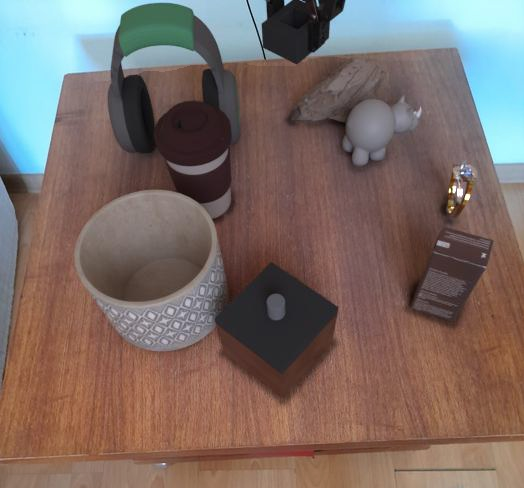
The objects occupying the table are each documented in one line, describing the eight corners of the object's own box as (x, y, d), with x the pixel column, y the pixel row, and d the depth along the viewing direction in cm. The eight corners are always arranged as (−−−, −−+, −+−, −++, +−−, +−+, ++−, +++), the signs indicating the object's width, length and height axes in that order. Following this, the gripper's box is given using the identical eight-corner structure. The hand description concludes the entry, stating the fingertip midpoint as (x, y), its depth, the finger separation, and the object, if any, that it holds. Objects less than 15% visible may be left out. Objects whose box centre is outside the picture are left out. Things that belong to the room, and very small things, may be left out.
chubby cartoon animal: (424, 154, 76) (439, 106, 68) (352, 174, 75) (359, 128, 67) (404, 124, 79) (417, 74, 71) (335, 142, 78) (340, 95, 70)
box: (461, 296, 65) (496, 239, 54) (452, 323, 63) (487, 270, 52) (417, 281, 66) (442, 223, 55) (407, 308, 65) (431, 253, 54)
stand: (273, 301, 66) (271, 266, 59) (332, 342, 63) (338, 312, 56) (223, 352, 63) (215, 323, 56) (283, 399, 60) (282, 374, 53)
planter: (244, 266, 69) (236, 203, 57) (206, 369, 62) (187, 321, 51) (138, 242, 71) (109, 178, 60) (91, 339, 65) (48, 287, 53)
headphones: (240, 113, 82) (226, -18, 64) (242, 161, 77) (228, 34, 59) (129, 122, 82) (84, -6, 64) (124, 170, 78) (74, 47, 60)
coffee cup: (251, 188, 75) (242, 102, 61) (222, 236, 71) (206, 156, 58) (194, 170, 77) (174, 83, 63) (163, 216, 73) (135, 134, 60)
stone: (386, 95, 82) (351, 43, 78) (409, 91, 75) (372, 33, 70) (320, 159, 85) (283, 112, 81) (336, 162, 77) (296, 110, 73)
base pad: (271, 266, 59) (270, 248, 55) (338, 312, 56) (341, 295, 52) (215, 323, 56) (210, 307, 53) (282, 374, 53) (281, 360, 49)
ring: (438, 190, 73) (455, 147, 66) (460, 193, 72) (479, 150, 65) (436, 227, 70) (453, 186, 63) (459, 230, 70) (478, 189, 62)
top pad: (294, 22, 63) (294, -3, 60) (329, 38, 61) (330, 13, 59) (262, 47, 61) (261, 23, 59) (297, 65, 59) (297, 40, 57)
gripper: (383, -138, 44) (360, 45, 60) (265, -174, 49) (271, 4, 64) (333, -103, 42) (322, 78, 58) (214, -144, 47) (233, 33, 62)
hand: (295, 38), depth 61 cm, fingers closed on top pad, 5 cm apart
